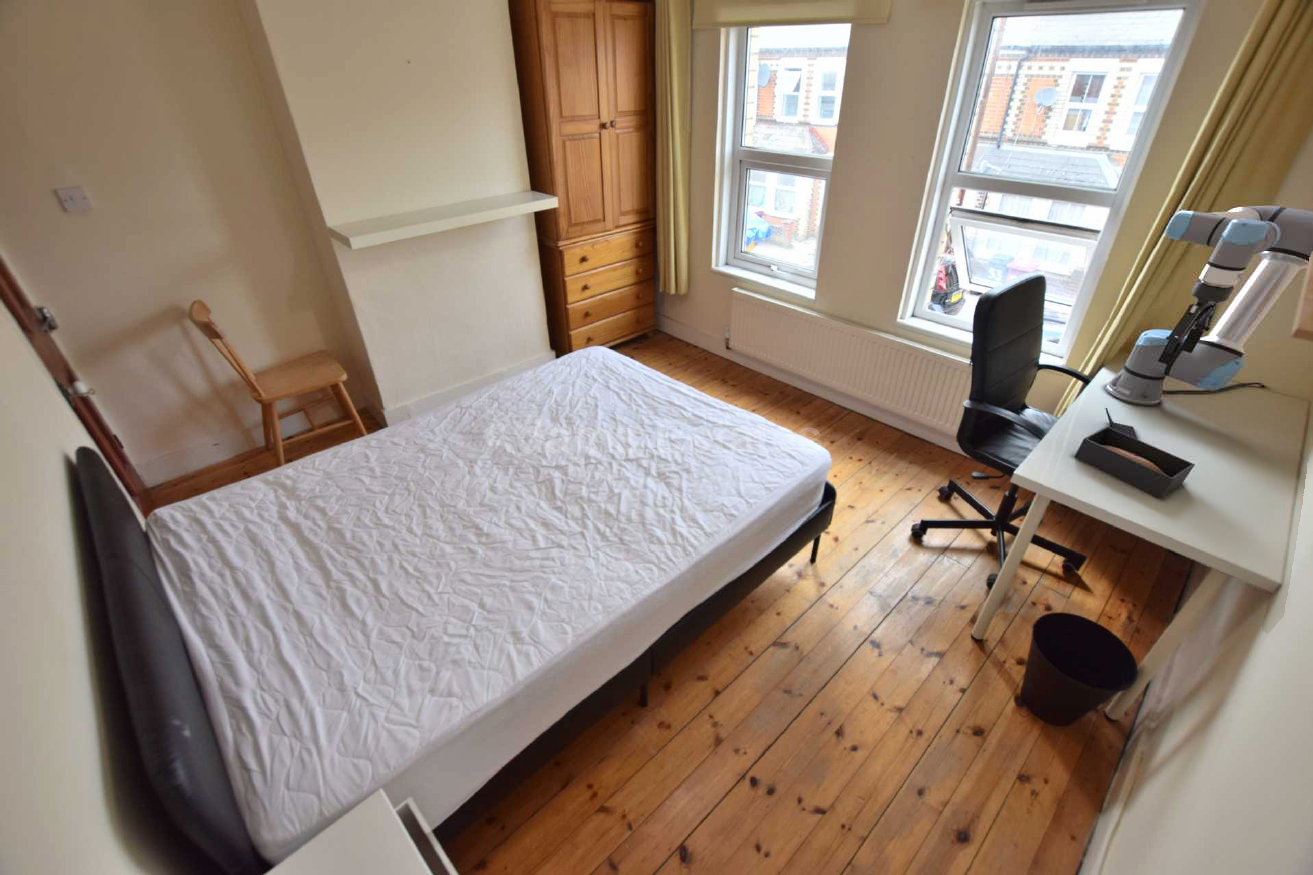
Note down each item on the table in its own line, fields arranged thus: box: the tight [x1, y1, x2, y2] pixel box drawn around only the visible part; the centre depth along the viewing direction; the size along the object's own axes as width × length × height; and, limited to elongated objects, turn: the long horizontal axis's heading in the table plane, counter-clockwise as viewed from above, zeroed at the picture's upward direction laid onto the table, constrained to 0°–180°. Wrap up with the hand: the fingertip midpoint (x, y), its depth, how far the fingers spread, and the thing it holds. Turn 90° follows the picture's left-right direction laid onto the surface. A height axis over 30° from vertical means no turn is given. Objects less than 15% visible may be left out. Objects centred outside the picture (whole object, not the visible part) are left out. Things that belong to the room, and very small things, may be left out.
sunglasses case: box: [1101, 445, 1167, 475], centre depth 162 cm, size 18×7×7 cm, turn 37°
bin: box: [1074, 425, 1195, 500], centre depth 161 cm, size 13×22×7 cm, turn 31°
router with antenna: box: [1104, 407, 1138, 439], centre depth 177 cm, size 12×7×10 cm
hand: (1174, 357), depth 161 cm, fingers open, 13 cm apart
